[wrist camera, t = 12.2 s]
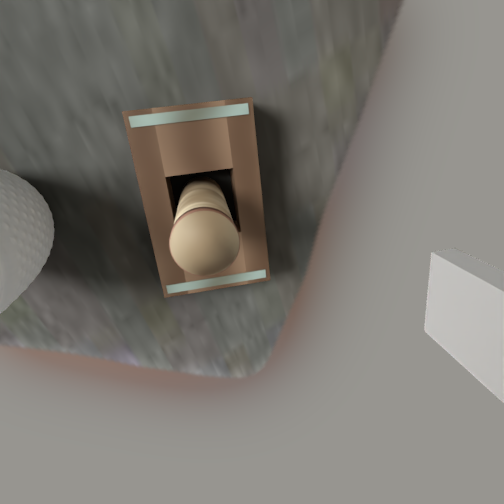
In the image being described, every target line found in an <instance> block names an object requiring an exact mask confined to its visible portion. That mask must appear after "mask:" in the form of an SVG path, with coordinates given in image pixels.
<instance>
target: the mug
mask: <svg viewBox="0 0 504 504" xmlns="http://www.w3.org/2000/svg"><path fill="white" fill-rule="evenodd" d="M54 230H55V229H54V222H53V219H52V213H51V211H50V209H49V206H48V204H47V203H46V202H45V200H44V198H43V196H42V195H41V194H40V193H39V192H38V191H37V190H36V188H35V187H33V186H31V185H30V184H29V183H28V182H27V181H26V180H23V179H21V178H20V177H19V176H17V175H16V174H12V173H10V172H9V171H6V170H2V169H0V313H1V312H3V311H4V310H5V309H7V308H8V306H9V305H10V304H11V303H12V302H13V301H14V300H16V299H17V298H18V297H19V295H20V294H21V293H22V292H23V291H25V290H26V289H27V288H28V286H29V284H30V283H32V282H33V281H34V279H35V277H36V276H37V275H38V274H39V273H40V272H41V269H42V267H43V266H44V265H45V263H46V261H47V258H48V256H49V255H50V250H51V248H52V246H53V243H52V242H53V240H54Z"/></svg>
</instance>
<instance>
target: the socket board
mask: <svg viewBox="0 0 504 504" xmlns="http://www.w3.org/2000/svg"><path fill="white" fill-rule="evenodd" d="M122 114H123V118H124V122H125V127H126V131H127V136H128V140H129V144H130V149H131V153H132V157H133V162H134V166H135V171H136V175H137V179H138V184H139V188H140V192H141V197H142V201H143V206H144V210H145V214H146V219H147V223H148V228H149V232H150V236H151V241H152V245H153V249H154V254H155V258H156V263H157V267H158V271H159V276H160V280H161V285H162V289H163V293H164V298H166V297H172V296H178V295H184V294H190V293H196V292H202V291H208V290H214V289H220V288H226V287H232V286H238V285H244V284H250V283H256V282H262V281H268V280H270V271H269V261H268V251H267V241H266V231H265V221H264V211H263V201H262V191H261V181H260V171H259V161H258V151H257V141H256V131H255V121H254V111H253V101H252V97H249V98H240V99H230V100H221V101H212V102H203V103H194V104H185V105H176V106H167V107H158V108H149V109H140V110H131V111H122ZM229 168H230V176H231V184H232V191H233V199H234V207H235V214H236V220H235V221H233V222H234V224H235V226H236V228H237V231H238V233H239V237H240V249H239V253H238V256H237V258H236V259H235V261H234V262H233V264H232V265H231V266H230V267H229V268H227V269H226V270H225V271H223V272H221V273H219V274H216V275H213V276H196V275H193V274H190V273H188V272H186V271H184V270H183V269H182V268H180V267H179V266H178V265H177V263H176V262H175V261H174V259H173V257H172V255H171V252H170V247H169V239H170V234H171V230H172V227H173V225H174V221H175V217H176V213H177V210H176V205H175V200H174V195H173V190H172V185H171V179H170V176H176V175H184V174H191V173H199V172H206V171H214V170H221V169H229Z"/></svg>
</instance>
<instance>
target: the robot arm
mask: <svg viewBox="0 0 504 504" xmlns="http://www.w3.org/2000/svg"><path fill="white" fill-rule="evenodd" d="M424 331H425V332H426V333H427V334H428V335H429V336H430V337H432V338H433V339H434V340H435V341H436V342H437V343H438V344H439V345H440V346H441V347H443V348H444V349H445V350H446V351H447V352H448V353H449V354H450V355H451V356H452V357H454V358H455V359H456V360H457V361H458V362H459V363H460V364H461V365H462V366H463V367H465V368H466V369H467V370H468V371H469V372H470V373H471V374H472V375H473V376H474V377H476V378H477V379H478V380H479V381H480V382H481V383H482V384H483V385H484V386H485V387H486V388H488V389H489V390H490V391H491V392H492V393H493V394H494V395H495V396H496V397H497V398H499V399H500V400H501V401H502V402H503V403H504V271H502V270H500V269H498V268H496V267H494V266H492V265H489V264H487V263H485V262H483V261H481V260H479V259H477V258H474V257H473V256H471V255H469V254H466V253H464V252H462V251H460V250H458V249H456V248H453V249H447V250H441V251H434V252H432V253H431V262H430V272H429V283H428V294H427V305H426V316H425V328H424Z"/></svg>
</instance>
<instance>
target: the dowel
mask: <svg viewBox="0 0 504 504" xmlns="http://www.w3.org/2000/svg"><path fill="white" fill-rule="evenodd" d="M169 247H170V252H171V255H172V257H173V259H174V261H175V262H176V263H177V265H178V266H179V267H180V268H182V269H183V270H184V271H186V272H188V273H190V274H193V275H196V276H213V275H216V274H219V273H221V272H223V271H225V270H226V269H227V268H229V267H230V266H231V265H232V264H233V262H234V261H235V259H236V258H237V256H238V253H239V249H240V237H239V233H238V231H237V228H236V226H235V224H234V222H233V219H232V217H231V214H230V211H229V209H228V206H227V203H226V200H225V198H224V195H223V192H222V190H221V188H220V186H219V184H218V183H217V182H216V181H215V180H213V179H211V178H209V177H205V176H198V177H194V178H192V179H190V180H189V181H188V182H186V184H185V185H184V187H183V189H182V192H181V196H180V200H179V204H178V208H177V213H176V217H175V221H174V225H173V227H172V230H171V234H170V239H169Z"/></svg>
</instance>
